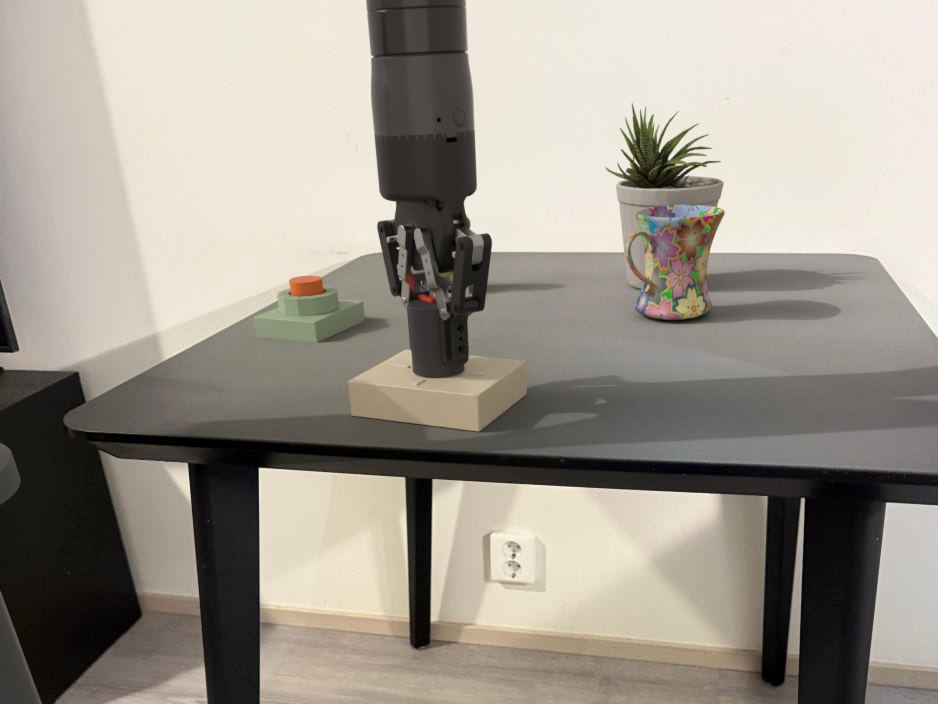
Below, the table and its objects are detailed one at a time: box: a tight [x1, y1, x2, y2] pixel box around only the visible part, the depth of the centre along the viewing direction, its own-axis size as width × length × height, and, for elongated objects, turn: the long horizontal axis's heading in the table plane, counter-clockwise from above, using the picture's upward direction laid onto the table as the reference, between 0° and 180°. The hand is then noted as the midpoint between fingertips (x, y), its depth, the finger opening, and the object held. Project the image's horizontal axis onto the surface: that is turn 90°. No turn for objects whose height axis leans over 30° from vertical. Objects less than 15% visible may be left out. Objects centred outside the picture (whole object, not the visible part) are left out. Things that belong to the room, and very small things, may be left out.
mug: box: [624, 205, 725, 321], centre depth 100 cm, size 12×9×11 cm
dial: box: [407, 294, 465, 378], centre depth 77 cm, size 4×4×6 cm
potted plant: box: [604, 102, 725, 290], centre depth 111 cm, size 13×14×20 cm
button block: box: [252, 285, 366, 343], centre depth 103 cm, size 10×8×4 cm
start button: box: [288, 275, 324, 296], centre depth 101 cm, size 4×4×2 cm
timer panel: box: [347, 349, 528, 433], centre depth 79 cm, size 10×12×3 cm
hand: (439, 357), depth 78 cm, fingers closed on dial, 4 cm apart
